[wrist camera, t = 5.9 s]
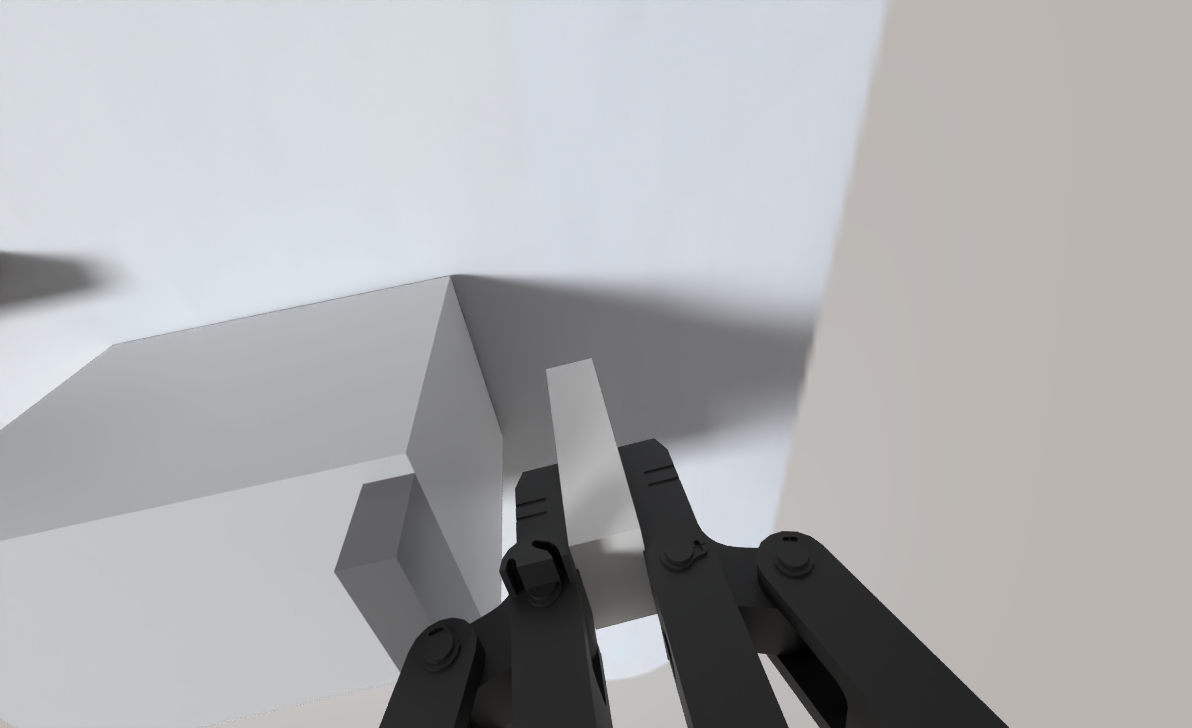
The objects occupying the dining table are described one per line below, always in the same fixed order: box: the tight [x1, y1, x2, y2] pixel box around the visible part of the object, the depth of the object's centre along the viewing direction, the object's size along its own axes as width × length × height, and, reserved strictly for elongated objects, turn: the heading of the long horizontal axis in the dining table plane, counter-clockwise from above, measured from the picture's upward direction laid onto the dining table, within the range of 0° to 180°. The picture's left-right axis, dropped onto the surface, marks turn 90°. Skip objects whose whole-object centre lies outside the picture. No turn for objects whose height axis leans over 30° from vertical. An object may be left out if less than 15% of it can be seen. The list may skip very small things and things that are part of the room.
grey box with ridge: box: [0, 276, 503, 728], centre depth 15 cm, size 7×11×11 cm, turn 99°
